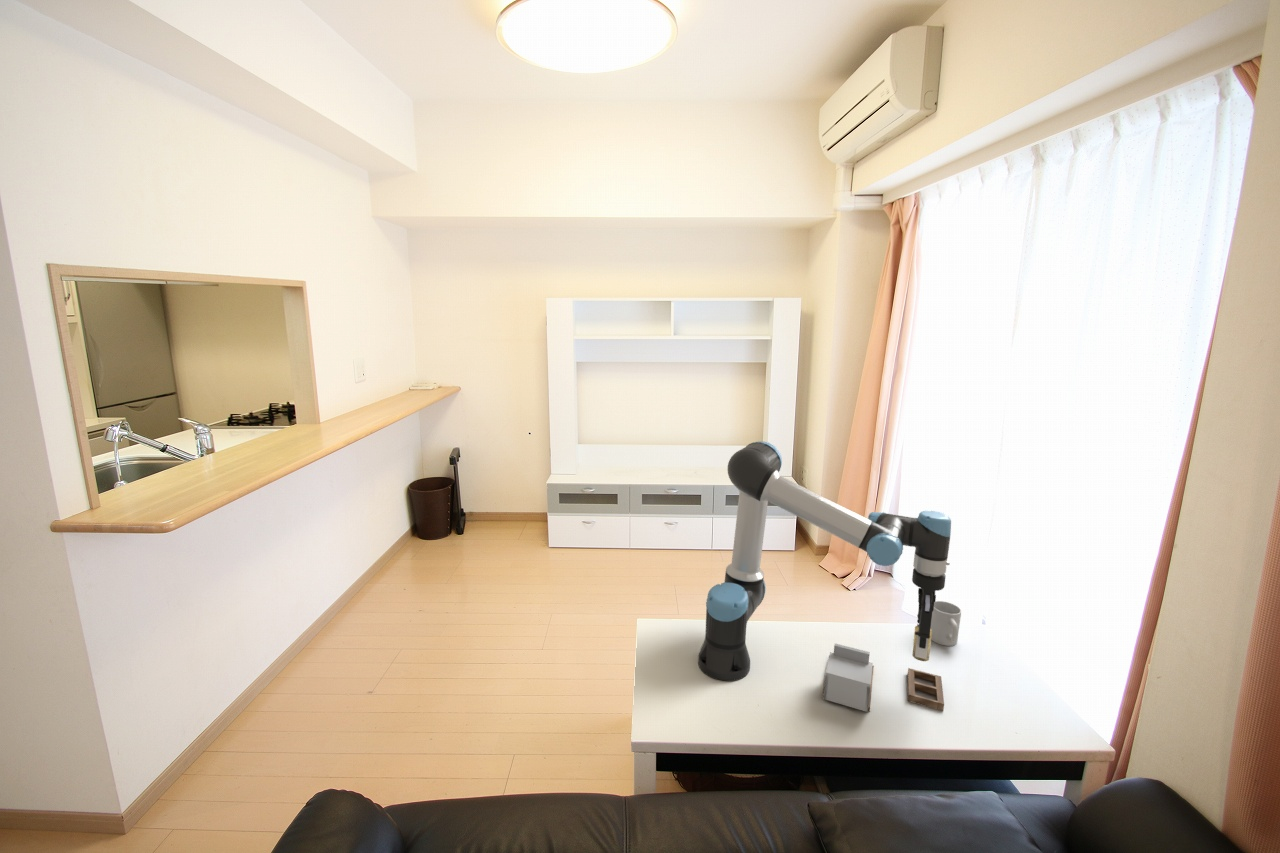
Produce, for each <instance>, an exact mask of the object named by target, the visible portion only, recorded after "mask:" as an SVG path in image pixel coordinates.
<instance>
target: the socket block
mask: <svg viewBox="0 0 1280 853" xmlns="http://www.w3.org/2000/svg"><path fill="white" fill-rule="evenodd" d="M907 701H908V702H909V703H912V704H913V703H914V704H917V705H920V706H925V707H928V708H931V709H935V710H938V711H942V712H944V708H945V700H944V688H943V681H942V676H940V675H937V674H933V673H930V672H925V671H921V670H917V669H913V668H909V667H908V668H907Z"/></svg>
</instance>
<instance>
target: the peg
mask: <svg viewBox="0 0 1280 853" xmlns="http://www.w3.org/2000/svg"><path fill="white" fill-rule="evenodd" d="M918 630H919V625H918V626H917V625H915V627H914V634H913V645H912V646H913V647H912V657H913V658H914V659H915V660H917V661H921V662H928V661H929V660H930V652H931V644H932V640H931V635H932V630H931V629H930V638H929V641H928V650H927V659H923V658H919V657H915V650H916V641H917V635H915V632H918Z"/></svg>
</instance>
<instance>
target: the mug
mask: <svg viewBox="0 0 1280 853" xmlns="http://www.w3.org/2000/svg"><path fill="white" fill-rule="evenodd" d="M961 617H962V609H961V608H960V607H958V605H956V604H954V603H950V602H948V601H943V600H937V601H936V600H935V602H934V610H933V612H932V619H931V628H930V629H931V630H932V635H931V642H934V643H935V644H939V645H940V646H945V647H953V646H955V645H957V643H958V638H959V630H960V624H961Z"/></svg>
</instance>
